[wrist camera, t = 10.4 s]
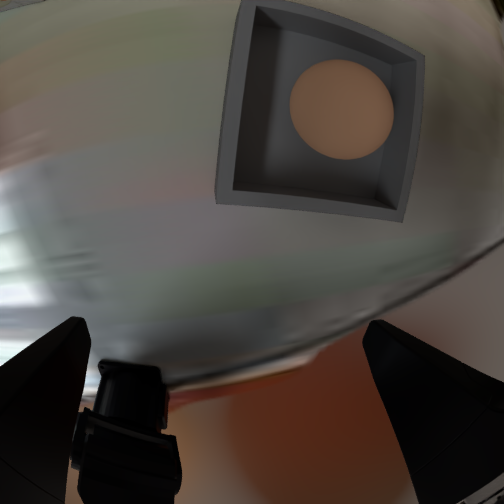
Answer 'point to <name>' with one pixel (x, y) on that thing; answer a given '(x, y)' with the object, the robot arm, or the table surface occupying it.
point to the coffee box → (15, 3)
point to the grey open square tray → (281, 126)
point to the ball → (341, 109)
